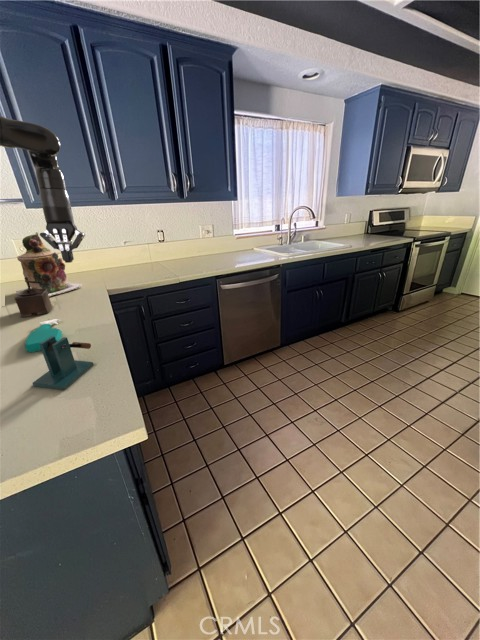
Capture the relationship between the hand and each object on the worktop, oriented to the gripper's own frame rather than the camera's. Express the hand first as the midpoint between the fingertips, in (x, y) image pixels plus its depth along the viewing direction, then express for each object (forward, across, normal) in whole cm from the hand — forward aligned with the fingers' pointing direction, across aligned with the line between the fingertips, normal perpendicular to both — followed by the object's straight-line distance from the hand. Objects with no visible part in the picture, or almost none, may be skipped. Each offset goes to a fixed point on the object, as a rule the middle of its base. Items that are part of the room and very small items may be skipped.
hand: (69, 262), depth 88 cm
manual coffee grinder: (+28, -30, +34) cm, 53 cm away
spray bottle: (+29, -16, +7) cm, 34 cm away
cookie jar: (+26, -40, +67) cm, 82 cm away
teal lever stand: (+30, +2, -22) cm, 37 cm away
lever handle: (+23, +2, -19) cm, 30 cm away
